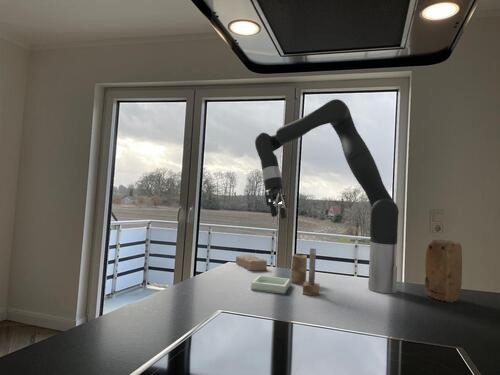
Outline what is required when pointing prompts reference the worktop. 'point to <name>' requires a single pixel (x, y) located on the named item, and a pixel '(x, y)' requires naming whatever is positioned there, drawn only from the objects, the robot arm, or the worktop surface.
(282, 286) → the tray
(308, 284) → the stand
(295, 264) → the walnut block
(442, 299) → the block
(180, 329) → the worktop surface
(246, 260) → the brick
